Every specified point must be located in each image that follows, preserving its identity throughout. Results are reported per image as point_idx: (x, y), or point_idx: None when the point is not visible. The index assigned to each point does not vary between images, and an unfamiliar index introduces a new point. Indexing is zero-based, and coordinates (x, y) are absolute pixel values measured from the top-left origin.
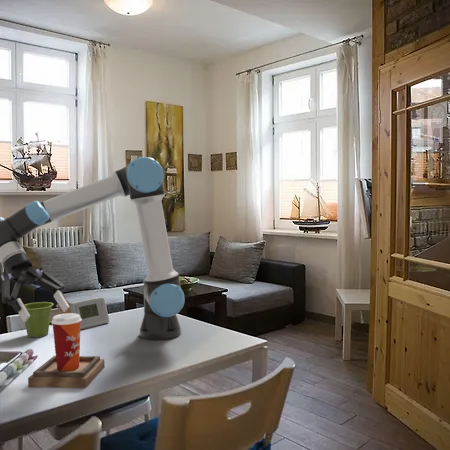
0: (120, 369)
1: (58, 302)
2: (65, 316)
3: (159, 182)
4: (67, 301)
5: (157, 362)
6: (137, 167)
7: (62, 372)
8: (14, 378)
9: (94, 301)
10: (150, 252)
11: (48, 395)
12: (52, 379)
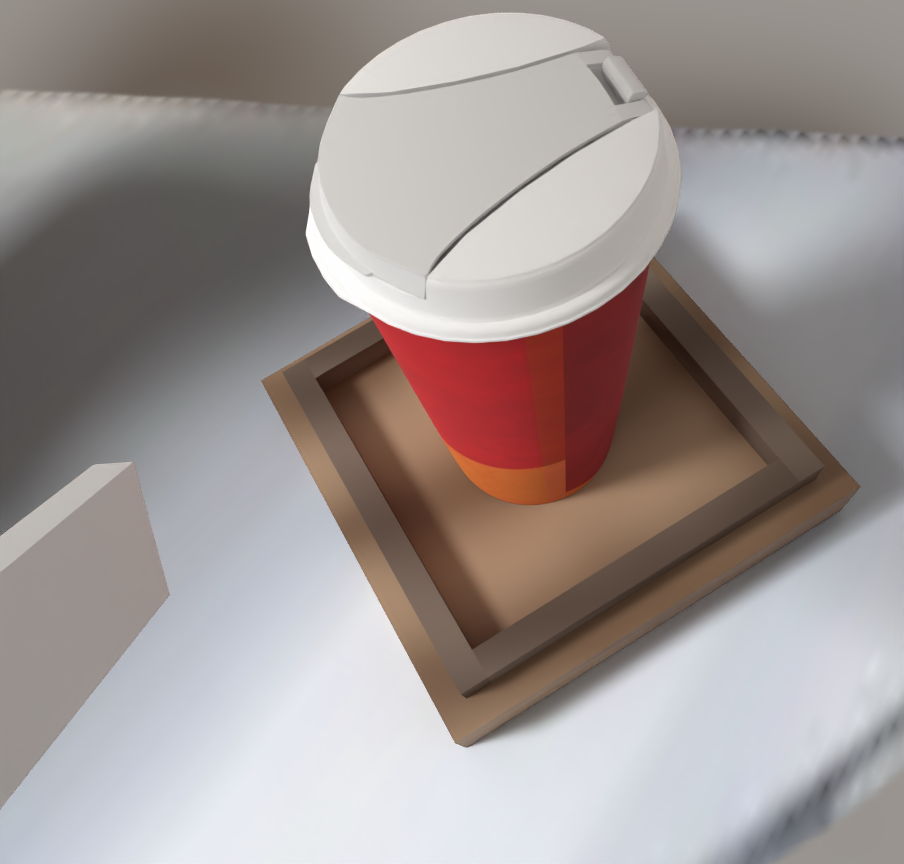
0: (265, 306)
1: (57, 704)
2: (501, 130)
3: None
4: None
5: (77, 237)
6: None
7: (671, 298)
8: (832, 782)
9: None
10: None
11: (812, 292)
12: (731, 348)
